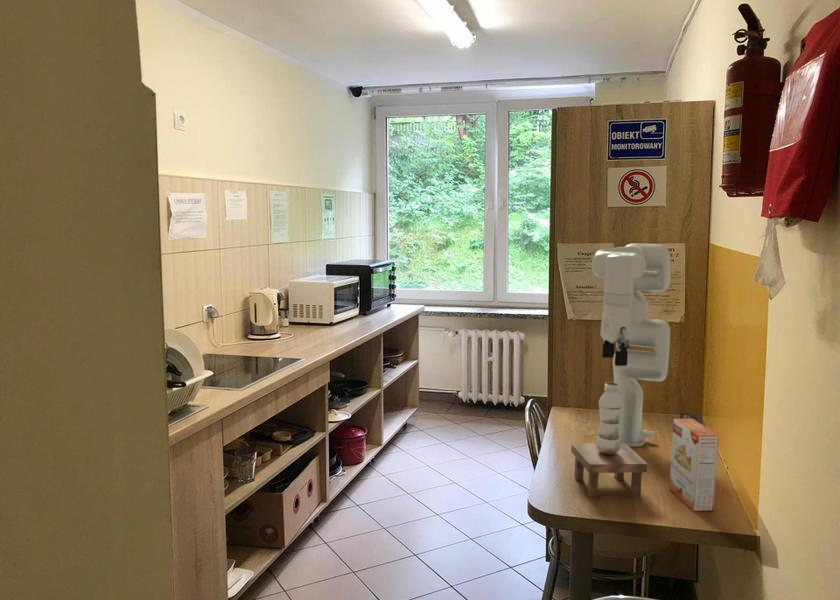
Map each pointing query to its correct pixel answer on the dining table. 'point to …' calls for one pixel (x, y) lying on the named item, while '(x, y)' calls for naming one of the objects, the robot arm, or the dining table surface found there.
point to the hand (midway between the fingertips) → (614, 361)
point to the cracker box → (694, 464)
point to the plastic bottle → (609, 420)
